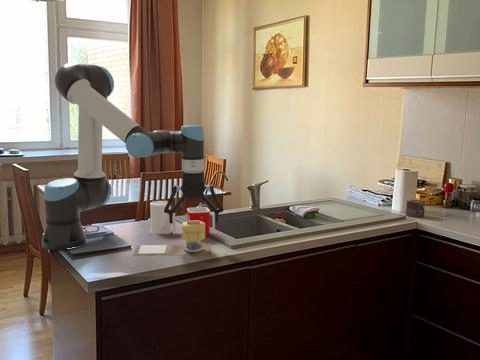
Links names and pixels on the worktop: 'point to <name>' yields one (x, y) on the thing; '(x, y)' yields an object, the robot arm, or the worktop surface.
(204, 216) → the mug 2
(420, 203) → the box
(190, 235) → the yellow block
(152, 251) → the pad
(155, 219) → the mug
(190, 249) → the clear drinking glass
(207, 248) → the board
